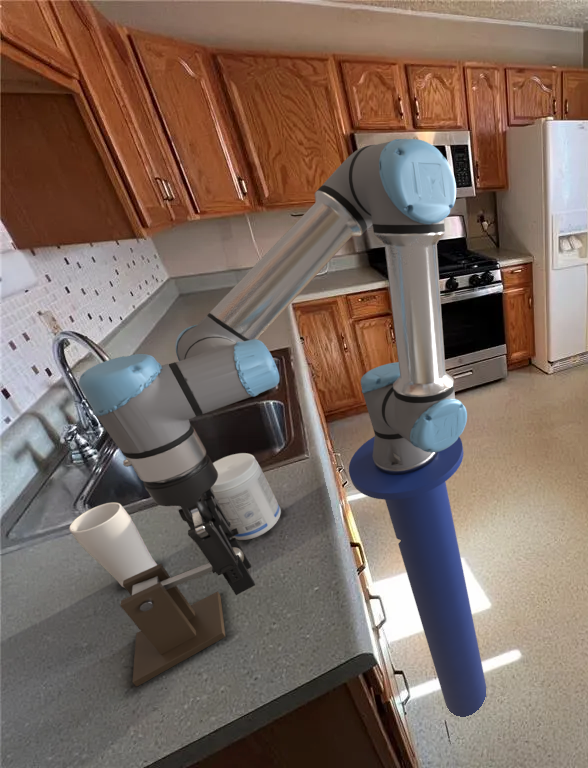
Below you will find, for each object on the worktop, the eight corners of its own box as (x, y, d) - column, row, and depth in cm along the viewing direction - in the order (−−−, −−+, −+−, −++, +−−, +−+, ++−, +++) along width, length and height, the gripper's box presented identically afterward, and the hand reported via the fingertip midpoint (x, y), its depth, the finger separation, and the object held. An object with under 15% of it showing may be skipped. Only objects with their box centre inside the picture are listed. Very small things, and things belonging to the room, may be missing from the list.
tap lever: (244, 555, 68) (239, 538, 66) (247, 570, 65) (242, 553, 64) (139, 596, 60) (131, 578, 59) (138, 615, 58) (129, 596, 56)
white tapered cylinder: (109, 585, 74) (59, 525, 67) (151, 556, 79) (109, 497, 72) (129, 599, 71) (79, 537, 64) (171, 567, 76) (130, 507, 69)
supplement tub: (254, 504, 90) (227, 450, 83) (292, 508, 88) (267, 453, 81) (218, 540, 81) (184, 483, 74) (259, 545, 79) (228, 487, 72)
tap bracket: (220, 595, 70) (187, 543, 64) (225, 637, 64) (188, 582, 58) (139, 637, 65) (94, 584, 59) (136, 687, 58) (85, 633, 52)
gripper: (144, 450, 60) (213, 559, 71) (137, 515, 48) (221, 634, 59) (204, 429, 64) (260, 536, 75) (211, 485, 52) (278, 602, 63)
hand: (243, 579), depth 67 cm, fingers closed on tap lever, 4 cm apart
